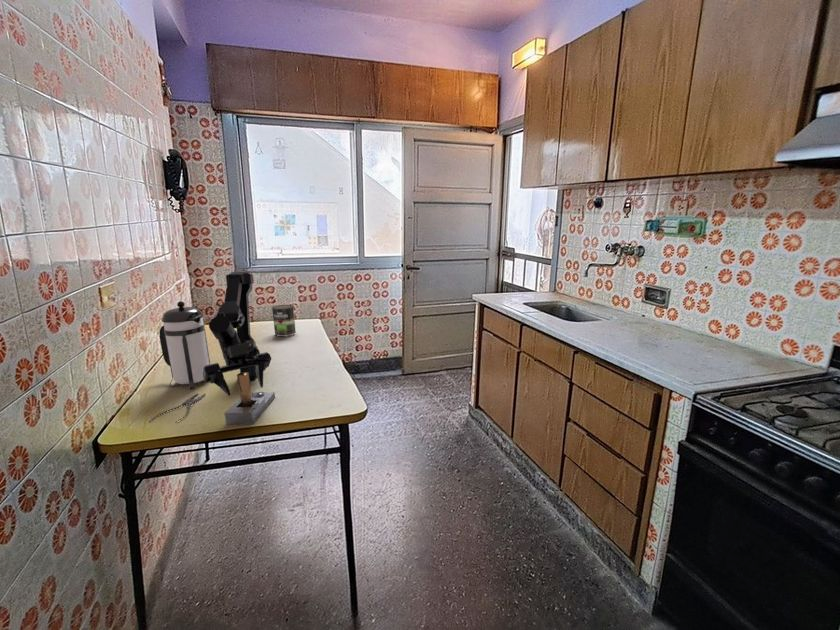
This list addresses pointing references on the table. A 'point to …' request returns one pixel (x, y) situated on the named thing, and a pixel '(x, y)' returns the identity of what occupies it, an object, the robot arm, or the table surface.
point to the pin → (245, 389)
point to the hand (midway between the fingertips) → (246, 391)
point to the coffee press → (184, 344)
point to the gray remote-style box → (248, 409)
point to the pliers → (183, 405)
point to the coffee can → (284, 320)
